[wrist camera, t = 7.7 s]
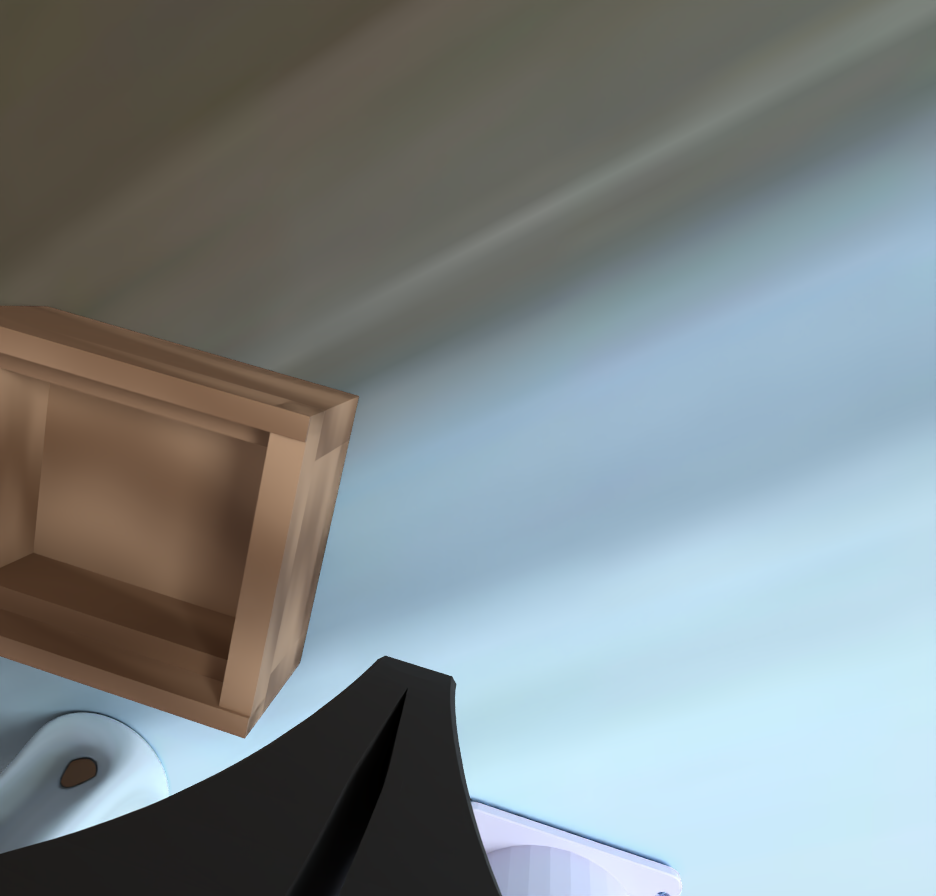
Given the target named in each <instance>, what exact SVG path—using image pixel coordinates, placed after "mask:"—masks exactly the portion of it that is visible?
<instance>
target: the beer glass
mask: <svg viewBox="0 0 936 896" xmlns="http://www.w3.org/2000/svg"><path fill="white" fill-rule="evenodd" d="M167 797H169V787H168V781H167V777H166V774H165V771H164V768H163V766H162V764H161V762H160V760H159V758H158V756H157V755H156V753H155V752H154V750H153V749H152V748H151V746H150V745H149V744H148V743H147V742H146V741H145V740H144V739H143V738H142V737H141V736H140V735H139V734H138V733H136V732H135V731H134V730H132V729H131V728H130V727H128V726H126V725H125V724H123V723H121V722H119V721H117V720H115V719H113V718H110V717H107V716H104V715H100V714H95V713H87V712H76V713H69V714H65V715H62V716H59V717H57V718H55V719H53V720H51V721H49V722H48V723H46V724H45V725H44V726H43V727H41V728H40V729H39V730H38V731H37V732H36V733H35V734H34V735H33V737H32V738H31V739H30V740H29V741H28V742H27V743H26V745H25V746H24V747H23V748H22V749H21V751H20V752H19V753H18V754H17V755H16V757H15V758H14V759H13V760H12V761H11V762H10V763H9V765H8V766H7V767H6V768H5V769H4V770H3V771H2V772H1V773H0V854H1V853H5V852H8V851H12V850H15V849H19V848H23V847H26V846H30V845H33V844H37V843H40V842H44V841H48V840H51V839H55V838H58V837H61V836H64V835H67V834H71V833H74V832H77V831H80V830H83V829H86V828H89V827H91V826H94V825H97V824H100V823H103V822H106V821H109V820H112V819H114V818H117V817H120V816H122V815H125V814H128V813H130V812H133V811H136V810H138V809H141V808H143V807H146V806H149V805H151V804H153V803H156V802H158V801H160V800H163V799H165V798H167Z"/></svg>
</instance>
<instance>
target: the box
mask: <svg viewBox="0 0 936 896" xmlns="http://www.w3.org/2000/svg"><path fill="white" fill-rule="evenodd" d="M358 399H359V396H357V395H353V394H350V393H346V392H343V391H339V390H336V389H333V388H329V387H326V386H322V385H319V384H315V383H312V382H308V381H305V380H301V379H298V378H294V377H291V376H287V375H284V374H280V373H277V372H273V371H270V370H267V369H263V368H260V367H256V366H253V365H249V364H246V363H242V362H239V361H235V360H232V359H228V358H225V357H221V356H218V355H214V354H211V353H207V352H204V351H201V350H197V349H194V348H190V347H187V346H183V345H180V344H176V343H173V342H169V341H166V340H162V339H159V338H155V337H152V336H148V335H145V334H141V333H138V332H135V331H131V330H128V329H124V328H121V327H117V326H114V325H110V324H107V323H103V322H100V321H96V320H93V319H89V318H86V317H82V316H79V315H75V314H72V313H69V312H65V311H62V310H58V309H55V308H51V307H48V306H0V656H1V657H4V658H7V659H10V660H13V661H16V662H19V663H22V664H25V665H28V666H31V667H34V668H37V669H40V670H43V671H46V672H49V673H52V674H55V675H58V676H61V677H64V678H67V679H70V680H73V681H76V682H79V683H82V684H85V685H88V686H90V687H93V688H96V689H99V690H102V691H105V692H108V693H111V694H114V695H117V696H120V697H123V698H126V699H129V700H132V701H135V702H138V703H141V704H144V705H147V706H150V707H153V708H156V709H159V710H162V711H165V712H168V713H171V714H174V715H177V716H180V717H182V718H185V719H188V720H191V721H194V722H197V723H200V724H203V725H206V726H209V727H212V728H215V729H218V730H221V731H224V732H227V733H230V734H233V735H236V736H239V737H242V738H246V736H247V735H248V733H249V732H250V731H251V729H252V728H253V727H254V725H255V724H256V722H257V721H258V720H259V718H260V717H261V716H262V714H263V713H264V712H265V710H266V709H267V707H268V706H269V705H270V703H271V702H272V701H273V699H274V698H275V697H276V695H277V694H278V692H279V691H280V690H281V688H282V687H283V686H284V684H285V683H286V682H287V680H288V679H289V677H290V676H291V675H292V673H293V672H294V671H295V669H296V668H297V667H298V665H299V664H300V661H301V656H302V652H303V647H304V643H305V638H306V634H307V629H308V625H309V620H310V616H311V611H312V607H313V602H314V598H315V593H316V589H317V584H318V580H319V575H320V570H321V566H322V561H323V557H324V552H325V548H326V543H327V539H328V534H329V530H330V525H331V521H332V516H333V512H334V507H335V503H336V498H337V494H338V489H339V485H340V480H341V475H342V471H343V466H344V462H345V457H346V453H347V448H348V444H349V439H350V435H351V430H352V426H353V421H354V417H355V412H356V408H357V403H358Z"/></svg>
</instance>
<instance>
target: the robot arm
mask: <svg viewBox="0 0 936 896" xmlns="http://www.w3.org/2000/svg"><path fill="white" fill-rule="evenodd" d="M455 689H456V683H455V681H454V679H453V677H452V676H449V675H446V674H443V673H439V672H436V671H433V670H430V669H426V668H423V667H420V666H417V665H414V664H410V663H407V662H404V661H401V660H398V659H394V658H391V657H388V656H384V657H382V658H380V659H378V660H377V661H376V662H375V663H374V664H373V665H372V666H371V667H370V668H369V669H368V670H366V671H365V672H364V673H363V674H362V675H361V676H360V677H359V678H358V679H357V680H355V681H354V682H353V683H352V684H351V685H349V686H348V687H347V688H346V689H345V690H344V691H342V692H341V693H340V694H339V695H337V696H336V697H335V698H333V699H332V700H331V701H330V702H328V703H327V704H326V705H324V706H323V707H322V708H320V709H319V710H318V711H317V712H315V713H314V714H313V715H311V716H310V717H308V718H307V719H306V720H304V721H303V722H301V723H300V724H298V725H297V726H295V727H294V728H292V729H291V730H289V731H288V732H286V733H285V734H283V735H282V736H280V737H279V738H277V739H276V740H274V741H273V742H271V743H270V744H268V745H267V746H265V747H263V748H262V749H260V750H258V751H257V752H255V753H253V754H252V755H250V756H248V757H246V758H245V759H243V760H241V761H239V762H238V763H236V764H234V765H232V766H230V767H228V768H227V769H225V770H223V771H221V772H219V773H217V774H215V775H213V776H211V777H209V778H207V779H205V780H203V781H201V782H199V783H197V784H195V785H193V786H191V787H189V788H186V789H184V790H182V791H180V792H178V793H176V794H174V795H172V796H169V797H167V798H165V799H163V800H160V801H158V802H156V803H153V804H151V805H149V806H146V807H143V808H141V809H138V810H136V811H133V812H130V813H128V814H125V815H122V816H120V817H117V818H114V819H112V820H109V821H106V822H103V823H100V824H97V825H94V826H91V827H89V828H86V829H83V830H80V831H77V832H74V833H71V834H67V835H64V836H61V837H58V838H55V839H51V840H48V841H44V842H40V843H37V844H33V845H30V846H26V847H23V848H19V849H15V850H12V851H8V852H5V853H1V854H0V896H680V893H681V891H682V881H681V877H680V874H679V873H678V872H677V871H676V870H675V869H673V868H672V867H669V866H666V865H663V864H660V863H657V862H654V861H651V860H648V859H645V858H642V857H639V856H636V855H633V854H630V853H627V852H624V851H621V850H618V849H615V848H612V847H609V846H606V845H603V844H600V843H597V842H594V841H591V840H588V839H585V838H582V837H579V836H576V835H573V834H571V833H568V832H565V831H562V830H559V829H556V828H553V827H550V826H547V825H544V824H541V823H538V822H535V821H532V820H529V819H526V818H523V817H520V816H517V815H514V814H511V813H508V812H505V811H502V810H499V809H496V808H493V807H490V806H487V805H484V804H481V803H478V802H471V800H470V796H469V792H468V788H467V784H466V779H465V775H464V770H463V764H462V759H461V753H460V747H459V742H458V734H457V726H456V715H455ZM659 892H666V893H665V894H658V893H659Z"/></svg>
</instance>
